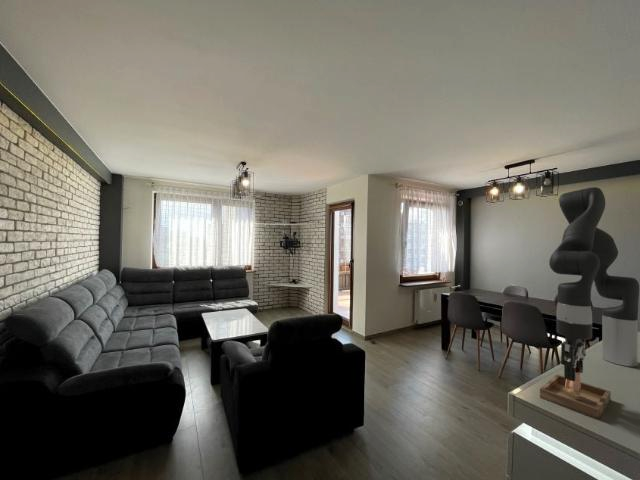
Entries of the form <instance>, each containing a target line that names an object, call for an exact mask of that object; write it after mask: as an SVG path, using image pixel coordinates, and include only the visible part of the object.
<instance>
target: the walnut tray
mask: <svg viewBox="0 0 640 480" xmlns="http://www.w3.org/2000/svg"><path fill="white" fill-rule="evenodd" d="M565 383H566V379H565V377H564V376H563V375H560V374H556V375H554V376H553V377H552V378H551V379H550V380H548V381H547V382H546V383H545V384H544V385H542V386H541V387H540V388H539V398H540V399H543V400H546V401H548V402H551V403H553V404H556V405H558V406H561V407H563V408H567V409H570V410H571V411H574V412H577V413H580V414H583V415H584V416H587V417H590V418H593V419H595V420H598V421H599V420H600V419H601V417H602V415H603V413H604V412H605V410H606V409H607V406H608V405H609V403H610V402H611V398H612V396H611V395H612V394H611V391H610V390H607V389H604V388H602V387H598V386H595V385H592V384H588V383H585V382H582V381H580V383H581V390H582V392H581V393H580V395H576V394H572V393H570V392H568V391H567V390H568V388H567V387H565Z"/></svg>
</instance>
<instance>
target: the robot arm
mask: <svg viewBox="0 0 640 480" xmlns="http://www.w3.org/2000/svg"><path fill="white" fill-rule="evenodd" d="M558 203H559V207H560V209H561V212H562V214H563V216H564V218H565V219H566V221H567V223H568V225H567V226H566V228H565V229H564V230H563V231H564V232H563V235H562V239H561V243H560V244H558V245H559V246H557V247H556V249H555V250H554V251H553V252H552V254H551V255H550V258H549V262H548V264H549V267H550V269H551V270H552V272H554V273H555V274H558V275H567V276H568V275H569V276H581V278H580V280H578V281H572V282H570V281H569V282H561V283H559V284H558V285H557V304H556V333H557V334H558V335H560V336H563V337H565V340H564V341H562V342H561V344H560V346H561V348H560V350H561V352H560V353H561V354H560V356H561V359H560V364H561V365H562V366H563V367H564V368H563V369H564V370H563V371H564V373H563V374H564V376H563V377H565V379H568V380H571V381H575V367H576V362H577V361H579V362H580V365H581V370H582V371H581V372H580V374H582V373H584V359H585V357H586V356H587V353H586V341H587V340H588V341H589V340H592V338H593V312H592V311H593V310H592V304H591V303H592V287H593V284H594V286H595V289H596V291H597V293H598V295H599V296H600V297H602V298H605V299H609V300H616V301H622V304H620V305H617V306H608V307H607V306H606V307H603V308H602V309H601V310H602V311H601V313H602V314H601V315H602V316H601V323H602V325H601V326H602V327H601V330H602V331H601V333H602V338H601V339H602V340H601V341H602V342H601V344H602V348H601V349H602V350H601V351H602V352H601V353H602V355H601V356H602V357H601V358H602V359H603V360H605V361H606V362H609V363H612V364H617V365H620V366H624V367H632V368H633V367H634V368H635V366H636V367H638V365H639V364H638V363H639V361H638V360H639V349H638V348H639V344H638V343H639V339H638V338H639V335H638V332H639V331H638V330H639V328H638V327H639V326H638V322H639V321H638V320H639V318H638V316H639V301H640V284H639V281H638V279H637V278H636V277H629V276H618V275H609V274H608V272H607V270H608V269H609V268H610V266H612V264H613V263H614V262H615V261H616V259H617V258H618V255H619V249H618V247H617V244H616V243H615V240H614V238H613V236H611V235H610V234H609V233H608V232H606V231H605V230H603V229H602V228H601V229H600V228H599V227H597V226H599V223H600V221H601V218H602V216H603V214H604V213H605V209H606V197H605V194H604V192H603V190H602V189H601V188H600V187H597V186H592V187H587V188H582V189H578V190H573V191H568V192H564V193H562V194H561V195H560V196H559V197H558ZM580 352H582V354H583V358H580ZM569 360H571V362H570V361H569Z"/></svg>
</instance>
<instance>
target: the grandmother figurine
mask: <svg viewBox="0 0 640 480" xmlns="http://www.w3.org/2000/svg"><path fill="white" fill-rule="evenodd" d="M580 358H583V354H582V352H580ZM569 362H571V359H569ZM581 371H582V370H581V365H580V362H579V361H577V362H576V367H575V381H571V380H568V379H566V383H565V387H567V388H568V390H567V391H568V392H570V393H572V394H576V395H580V393H581V392H582V390H581V383H580V382H581V373H580V372H581Z"/></svg>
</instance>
